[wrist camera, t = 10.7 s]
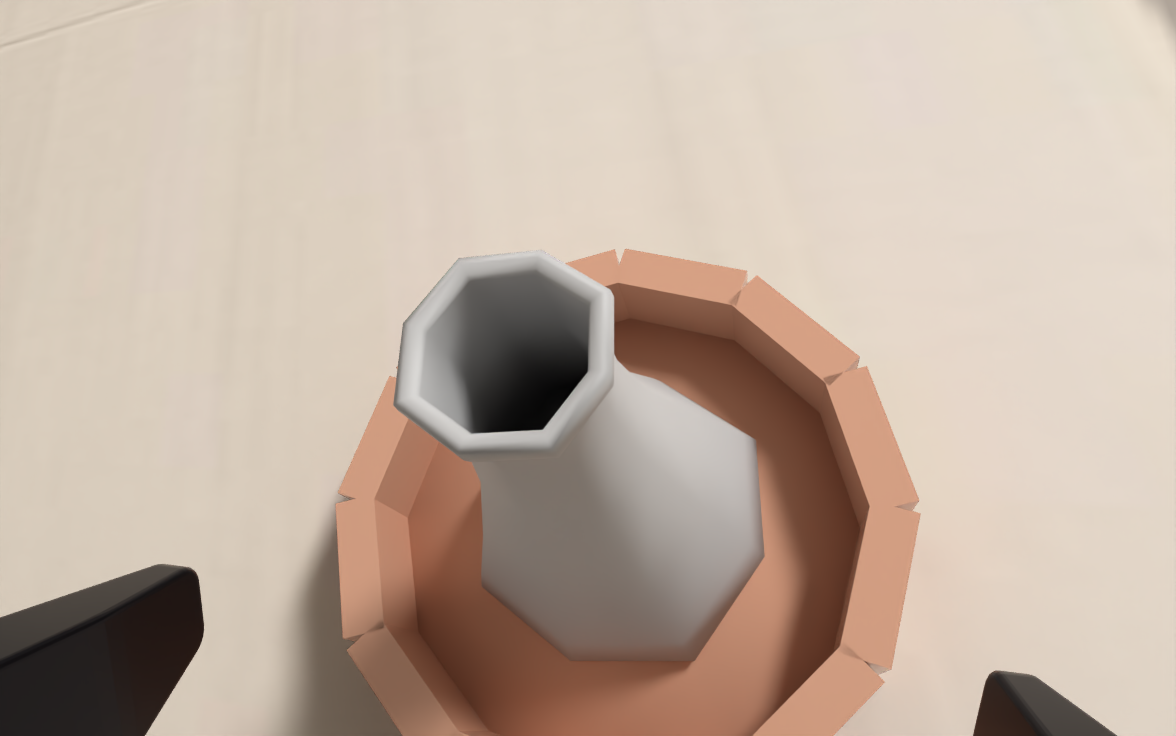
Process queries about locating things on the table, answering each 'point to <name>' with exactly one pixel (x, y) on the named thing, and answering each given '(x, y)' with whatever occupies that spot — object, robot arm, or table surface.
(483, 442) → the flask
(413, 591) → the bowl
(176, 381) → the table surface
